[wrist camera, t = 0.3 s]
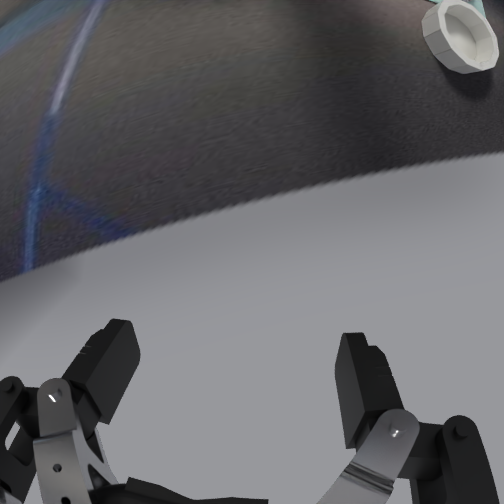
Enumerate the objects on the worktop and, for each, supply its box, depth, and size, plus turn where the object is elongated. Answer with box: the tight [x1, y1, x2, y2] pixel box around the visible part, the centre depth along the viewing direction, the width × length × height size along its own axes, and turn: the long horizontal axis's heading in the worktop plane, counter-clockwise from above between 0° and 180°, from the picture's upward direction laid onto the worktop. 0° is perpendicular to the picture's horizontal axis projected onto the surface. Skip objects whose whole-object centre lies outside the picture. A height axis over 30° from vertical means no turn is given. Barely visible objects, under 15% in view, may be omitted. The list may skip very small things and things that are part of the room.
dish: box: [422, 0, 499, 74], centre depth 23 cm, size 11×11×5 cm
